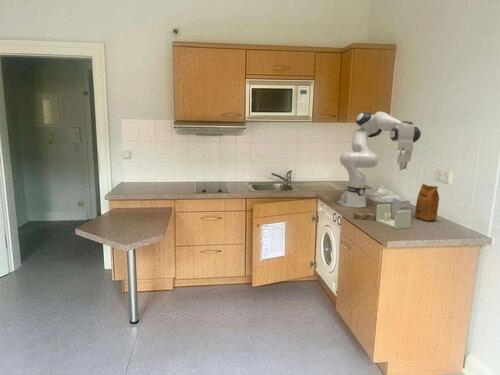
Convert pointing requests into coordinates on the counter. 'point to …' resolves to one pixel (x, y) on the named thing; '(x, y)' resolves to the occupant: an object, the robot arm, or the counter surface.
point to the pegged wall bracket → (400, 220)
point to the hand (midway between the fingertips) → (402, 169)
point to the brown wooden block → (364, 216)
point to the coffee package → (427, 203)
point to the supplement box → (399, 206)
